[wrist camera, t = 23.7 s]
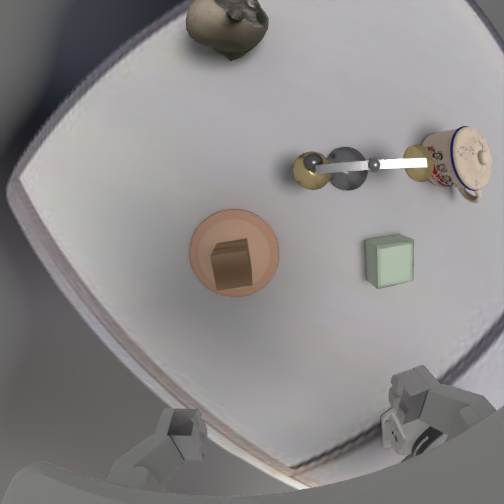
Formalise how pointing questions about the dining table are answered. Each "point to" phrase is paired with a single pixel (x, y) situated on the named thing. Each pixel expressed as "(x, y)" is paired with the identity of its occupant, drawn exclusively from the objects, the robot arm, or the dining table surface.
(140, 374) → the dining table surface
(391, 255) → the cover
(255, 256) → the saucer
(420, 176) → the balance
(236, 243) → the block
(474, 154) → the teacup with lid
